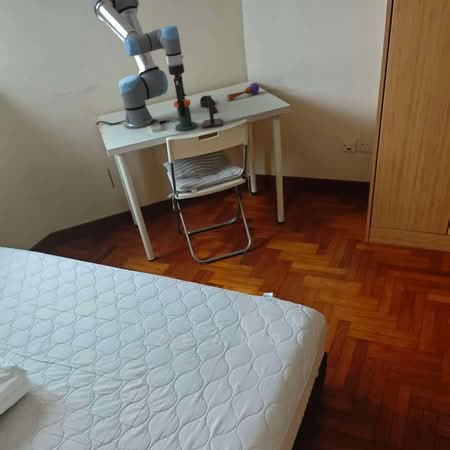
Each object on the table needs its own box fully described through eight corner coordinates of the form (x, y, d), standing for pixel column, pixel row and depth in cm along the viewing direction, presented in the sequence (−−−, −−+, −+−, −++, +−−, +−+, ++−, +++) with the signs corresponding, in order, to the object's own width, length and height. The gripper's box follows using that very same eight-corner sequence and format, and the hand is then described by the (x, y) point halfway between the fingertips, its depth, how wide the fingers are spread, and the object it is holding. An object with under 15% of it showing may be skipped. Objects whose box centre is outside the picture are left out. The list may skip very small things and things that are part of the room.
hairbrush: (207, 109, 229) (197, 95, 246) (208, 116, 231) (198, 102, 249) (222, 106, 230) (211, 92, 247) (222, 113, 232) (211, 99, 250)
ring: (174, 108, 210) (173, 105, 209) (175, 103, 216) (174, 100, 215) (189, 106, 209) (189, 103, 208) (190, 101, 215) (190, 98, 214)
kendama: (225, 92, 245) (255, 81, 249) (227, 102, 249) (257, 92, 252) (229, 92, 240) (259, 81, 244) (231, 103, 244) (261, 92, 247)
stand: (175, 132, 216) (171, 112, 209) (177, 125, 224) (173, 105, 218) (196, 129, 215) (193, 109, 209) (197, 122, 223) (194, 102, 217)
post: (204, 128, 216) (199, 99, 206) (204, 122, 222) (200, 94, 213) (221, 126, 215) (217, 97, 206) (221, 120, 222) (217, 92, 212)
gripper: (181, 68, 192) (189, 119, 207) (184, 58, 207) (192, 105, 223) (165, 70, 192) (175, 121, 208) (169, 60, 208) (178, 107, 223)
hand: (183, 113), depth 215 cm, fingers closed on ring, 8 cm apart
